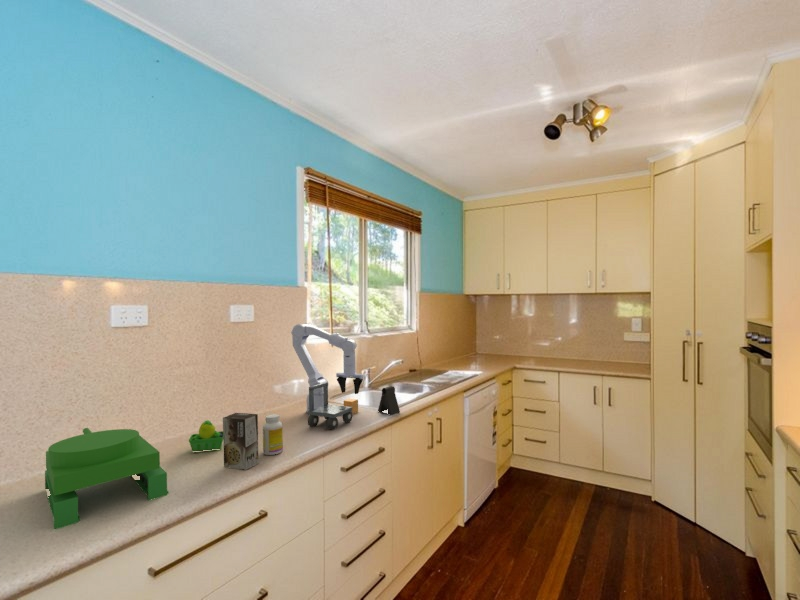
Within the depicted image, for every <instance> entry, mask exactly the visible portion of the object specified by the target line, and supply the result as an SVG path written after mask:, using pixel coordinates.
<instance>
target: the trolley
mask: <svg viewBox="0 0 800 600" xmlns="http://www.w3.org/2000/svg"><path fill="white" fill-rule="evenodd" d="M321 387H323V390H324V405H323V406H320V407H317V408H315V409H314V390H315V389H318V388H321ZM308 394H309V411H308V412H307V415H308V416H310V415H315V416H318V417H323V418H324V417H330V418H338V417H340V416H341V417H342V415H343V414H346V413H348V412H350V411H352V407H348V406H344V405H338V404H329V381H328V382H324V383H321V384H317V385H314V386H309V387H308Z"/></svg>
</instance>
